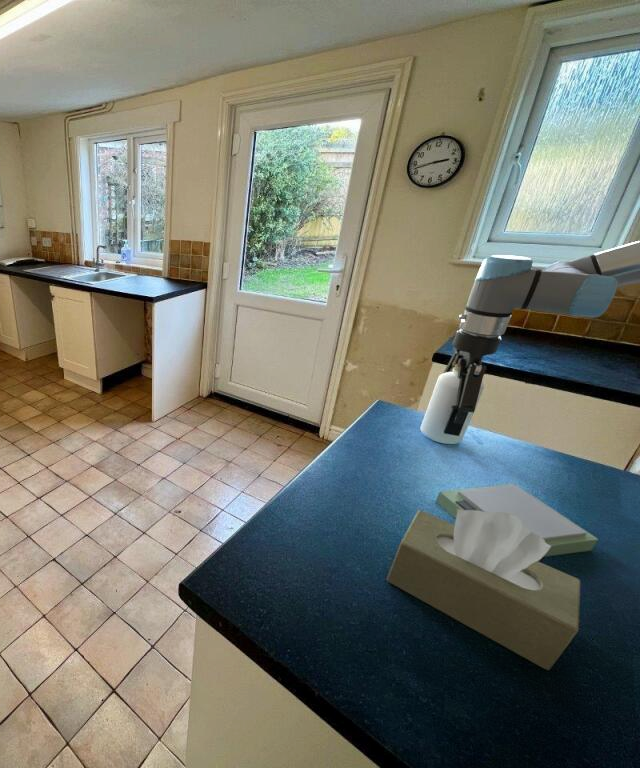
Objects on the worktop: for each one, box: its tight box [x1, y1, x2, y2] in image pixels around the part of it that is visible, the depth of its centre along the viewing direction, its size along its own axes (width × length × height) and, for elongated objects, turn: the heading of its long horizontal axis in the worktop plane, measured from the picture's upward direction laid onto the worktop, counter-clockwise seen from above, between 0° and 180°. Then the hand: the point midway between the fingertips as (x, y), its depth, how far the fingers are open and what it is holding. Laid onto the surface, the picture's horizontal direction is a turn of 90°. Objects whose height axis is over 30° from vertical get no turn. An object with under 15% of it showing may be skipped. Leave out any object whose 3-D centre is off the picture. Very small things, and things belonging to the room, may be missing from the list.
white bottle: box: [419, 364, 485, 445], centre depth 94 cm, size 8×8×18 cm
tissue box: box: [386, 508, 582, 671], centre depth 56 cm, size 19×10×16 cm, turn 44°
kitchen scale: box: [434, 483, 599, 558], centre depth 72 cm, size 16×14×3 cm
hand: (445, 421), depth 97 cm, fingers open, 11 cm apart
